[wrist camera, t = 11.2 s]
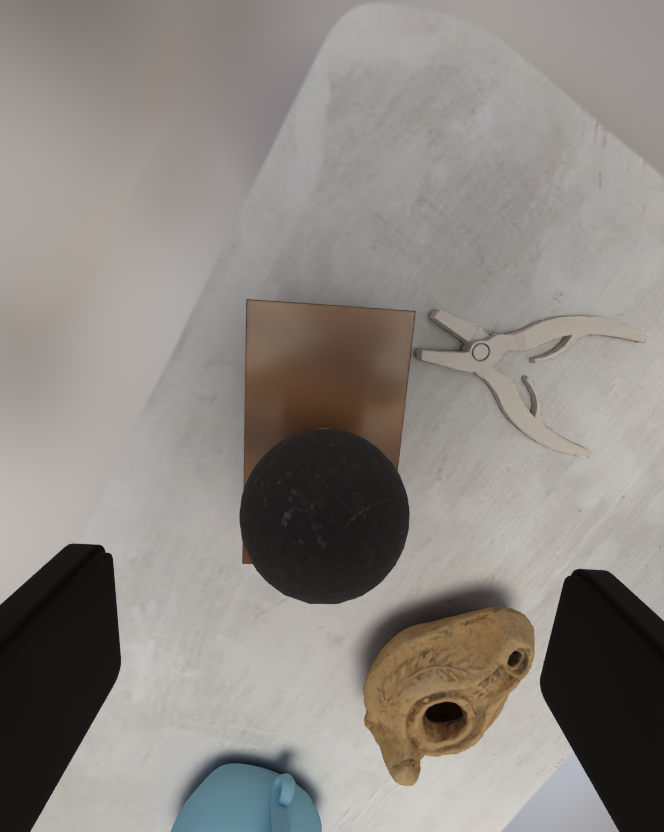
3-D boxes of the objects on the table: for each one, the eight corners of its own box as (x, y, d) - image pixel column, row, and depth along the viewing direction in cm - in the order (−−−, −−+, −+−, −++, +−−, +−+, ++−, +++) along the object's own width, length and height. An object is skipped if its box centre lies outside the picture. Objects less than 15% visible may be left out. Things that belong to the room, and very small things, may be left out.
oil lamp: (539, 608, 34) (605, 695, 26) (433, 726, 36) (463, 837, 29) (438, 545, 32) (475, 618, 24) (334, 674, 35) (338, 777, 27)
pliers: (594, 464, 29) (402, 403, 27) (580, 457, 30) (398, 399, 29) (660, 333, 27) (456, 259, 25) (642, 332, 28) (448, 262, 27)
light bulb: (246, 456, 20) (178, 582, 11) (312, 369, 19) (304, 420, 10) (333, 516, 21) (343, 682, 12) (400, 436, 20) (473, 544, 11)
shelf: (270, 305, 27) (246, 299, 18) (385, 313, 28) (415, 311, 19) (264, 494, 31) (242, 564, 22) (368, 499, 31) (386, 570, 22)
